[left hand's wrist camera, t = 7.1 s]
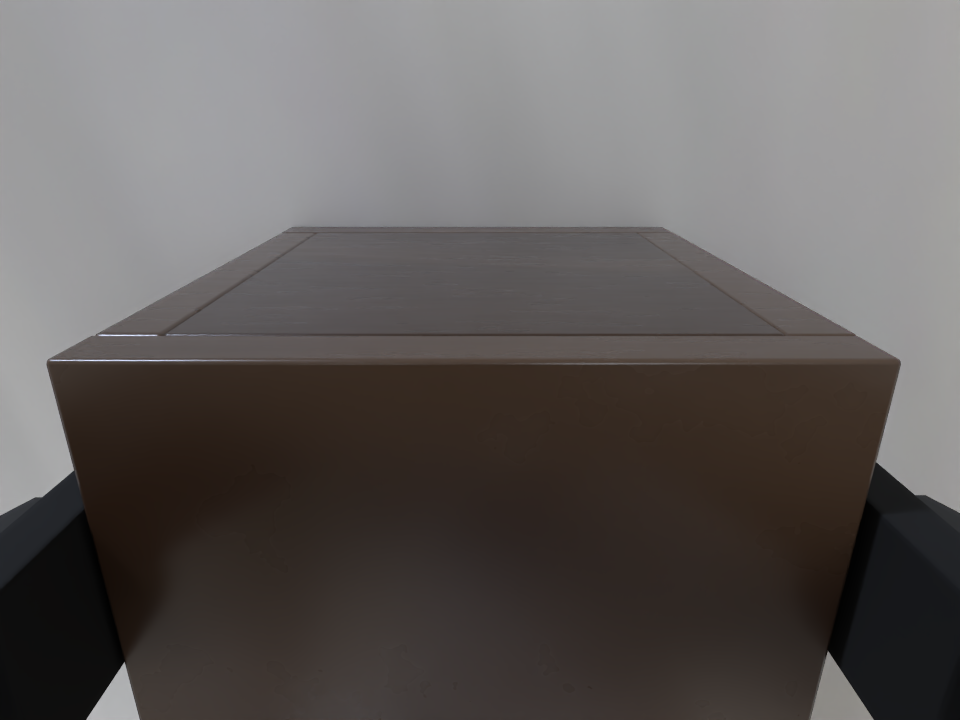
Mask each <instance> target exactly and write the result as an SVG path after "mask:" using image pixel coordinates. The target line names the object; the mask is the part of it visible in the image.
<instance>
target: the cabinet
mask: <svg viewBox="0 0 960 720" xmlns="http://www.w3.org/2000/svg"><path fill="white" fill-rule="evenodd" d="M900 366H901V363H900V360H899V359H897V358H896V357H894V356H892V355H890V354H888V353H887V352H885V351H883V350H881V349H880V348H878V347H876V346H874V345H872V344H871V343H869V342H867V341H865V340H863V339H862V338H860V337H857V336H856V335H855V334H854V333H852V332H850V331H848V330H847V329H845V328H843V327H841V326H839V325H838V324H836V323H834V322H832V321H830V320H829V319H827V318H825V317H823V316H821V315H820V314H818V313H816V312H814V311H812V310H811V309H809V308H807V307H805V306H803V305H802V304H800V303H798V302H796V301H795V300H793V299H791V298H789V297H787V296H786V295H784V294H782V293H780V292H778V291H777V290H775V289H773V288H771V287H769V286H768V285H766V284H764V283H762V282H760V281H759V280H757V279H755V278H753V277H751V276H750V275H748V274H746V273H744V272H742V271H741V270H739V269H737V268H735V267H734V266H732V265H730V264H728V263H726V262H725V261H723V260H721V259H719V258H717V257H716V256H714V255H712V254H710V253H708V252H707V251H705V250H703V249H701V248H699V247H698V246H696V245H694V244H692V243H690V242H689V241H687V240H685V239H683V238H681V237H680V236H678V235H676V234H674V233H672V232H670V231H668V230H666V229H664V228H662V227H292V228H290V229H288V230H286V231H285V232H283V233H282V234H280V235H278V236H276V237H274V238H272V239H270V240H269V241H267V242H265V243H263V244H261V245H259V246H258V247H256V248H254V249H252V250H250V251H248V252H247V253H245V254H243V255H241V256H239V257H237V258H235V259H234V260H232V261H230V262H228V263H226V264H224V265H223V266H221V267H219V268H217V269H215V270H213V271H212V272H210V273H208V274H206V275H204V276H202V277H201V278H199V279H197V280H195V281H193V282H191V283H190V284H188V285H186V286H184V287H182V288H180V289H179V290H177V291H175V292H173V293H171V294H169V295H168V296H166V297H164V298H162V299H160V300H158V301H157V302H155V303H153V304H151V305H149V306H147V307H146V308H144V309H142V310H140V311H138V312H136V313H135V314H133V315H131V316H129V317H127V318H125V319H124V320H122V321H120V322H118V323H116V324H114V325H113V326H111V327H109V328H107V329H105V330H103V331H102V332H100V333H98V334H96V336H91V337H89V338H87V339H85V340H83V341H81V342H80V343H78V344H76V345H74V346H72V347H70V348H69V349H67V350H65V351H63V352H61V353H59V354H57V355H56V356H54V357H52V358H50V359H48V361H47V368H48V372H49V376H50V380H51V383H52V387H53V391H54V395H55V399H56V402H57V406H58V410H59V414H60V418H61V421H62V425H63V429H64V433H65V437H66V440H67V444H68V448H69V452H70V456H71V459H72V463H73V467H74V471H75V475H76V478H77V482H78V486H79V490H80V494H81V497H82V501H83V505H84V509H85V513H86V516H87V520H88V524H89V528H90V532H91V535H92V539H93V543H94V547H95V550H96V554H97V558H98V562H99V566H100V569H101V573H102V577H103V581H104V585H105V588H106V592H107V596H108V600H109V604H110V607H111V611H112V615H113V619H114V623H115V626H116V630H117V634H118V638H119V642H120V645H121V649H122V653H123V657H124V661H125V664H126V668H127V672H128V676H129V680H130V683H131V687H132V691H133V695H134V699H135V702H136V706H137V710H138V714H139V718H140V720H810V718H811V714H812V710H813V706H814V702H815V698H816V694H817V691H818V687H819V683H820V679H821V675H822V671H823V667H824V663H825V659H826V655H827V651H828V648H829V644H830V640H831V636H832V632H833V628H834V624H835V620H836V616H837V612H838V608H839V604H840V601H841V597H842V593H843V589H844V585H845V581H846V577H847V573H848V569H849V565H850V561H851V557H852V554H853V550H854V546H855V542H856V538H857V534H858V530H859V526H860V522H861V518H862V514H863V511H864V507H865V503H866V499H867V495H868V491H869V487H870V483H871V479H872V475H873V471H874V467H875V464H876V460H877V456H878V452H879V448H880V444H881V440H882V436H883V432H884V428H885V424H886V420H887V417H888V413H889V409H890V405H891V401H892V397H893V393H894V389H895V385H896V381H897V377H898V374H899V370H900Z"/></svg>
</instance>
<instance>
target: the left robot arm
mask: <svg viewBox="0 0 960 720" xmlns="http://www.w3.org/2000/svg"><path fill="white" fill-rule="evenodd" d="M828 651H829V653H830V654H831V656H832V657H833V659H834V660H835V662H836V663H837V665H838V666H839V668H840V669H841V671H842V672H843V674H844V675H845V677H846V678H847V680H848V681H849V683H850V684H851V686H852V687H853V689H854V690H855V692H856V693H857V695H858V696H859V698H860V699H861V701H862V702H863V704H864V705H865V707H866V708H867V710H868V711H869V713H870V714H871V716H872V717H873V719H874V720H960V513H958V512H957V511H955V510H953V509H951V508H949V507H947V506H945V505H943V504H941V503H939V502H937V501H935V500H933V499H931V498H930V497H928V496H926V495H914V494H913V493H912V492H911V491H909V490H908V489H907V488H906V487H905V486H903V485H902V484H901V483H900V482H899V481H898V480H896V479H895V478H894V477H893V476H892V475H891V474H889V473H888V472H887V471H886V470H885V469H883V468H882V467H881V466H880V465H879V464H878V463H876V464H875V467H874V471H873V475H872V479H871V483H870V487H869V491H868V495H867V499H866V503H865V507H864V511H863V514H862V518H861V522H860V526H859V530H858V534H857V538H856V542H855V546H854V550H853V554H852V557H851V561H850V565H849V569H848V573H847V577H846V581H845V585H844V589H843V593H842V597H841V601H840V604H839V608H838V612H837V616H836V620H835V624H834V628H833V632H832V636H831V640H830V644H829V648H828ZM124 662H125V661H124V657H123V653H122V649H121V645H120V642H119V638H118V634H117V630H116V626H115V623H114V619H113V615H112V611H111V607H110V604H109V600H108V596H107V592H106V588H105V585H104V581H103V577H102V573H101V569H100V566H99V562H98V558H97V554H96V550H95V547H94V543H93V539H92V535H91V532H90V528H89V524H88V520H87V516H86V513H85V509H84V505H83V501H82V497H81V494H80V490H79V486H78V482H77V478H76V475H75V471H73V472H72V473H71V474H70V475H68V476H67V477H66V478H65V479H64V480H62V481H61V482H60V483H59V484H58V485H57V486H55V487H54V488H53V489H52V490H51V491H49V492H48V493H47V494H46V495H45V496H44V497H35V498H33V499H31V500H30V501H28V502H26V503H24V504H22V505H20V506H18V507H16V508H14V509H12V510H10V511H8V512H7V513H5V514H3V515H1V516H0V720H86V719H87V717H88V716H89V714H90V713H91V711H92V710H93V708H94V707H95V705H96V704H97V702H98V701H99V699H100V698H101V696H102V695H103V693H104V692H105V690H106V689H107V687H108V686H109V684H110V683H111V681H112V680H113V678H114V677H115V675H116V674H117V672H118V671H119V669H120V668H121V666H122V665H123V663H124Z"/></svg>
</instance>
